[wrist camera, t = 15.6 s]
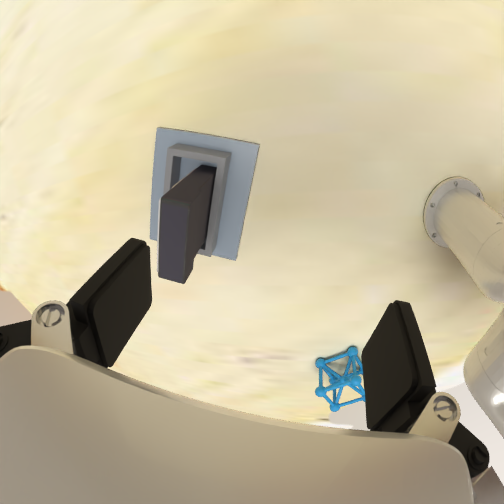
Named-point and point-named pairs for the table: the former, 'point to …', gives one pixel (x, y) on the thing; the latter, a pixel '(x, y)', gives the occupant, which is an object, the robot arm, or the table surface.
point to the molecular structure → (340, 379)
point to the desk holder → (225, 187)
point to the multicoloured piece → (184, 223)
